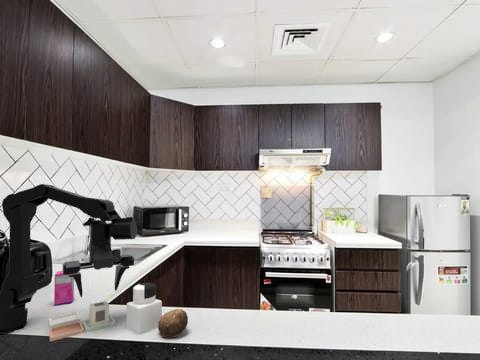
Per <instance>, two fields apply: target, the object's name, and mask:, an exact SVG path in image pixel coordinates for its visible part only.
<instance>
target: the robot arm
mask: <svg viewBox="0 0 480 360" xmlns="http://www.w3.org/2000/svg"><path fill="white" fill-rule="evenodd" d="M48 200H52V201H54V202H56V203H61V204H64V205H66V206H69V207H73V208H76V209H78V210H80V211H81V212H82V213H83V214H85V215H87V216H88V217H89V218H88V219H87V220H86V221H85V222H84V223H82V226H83V227H90V229H89V233H90V234H89V256H88V258H89V261H86V262H80V261H79V260H72V261H71V260H70V261H64V263H63V264H62V270H61V271H62V272H63V275H68V276H69V277H73V278H74V283H76V288H77V290H78V294H79V296H80V298H83V284H82V273H81V272H80V271H81V270H87V269H94V270H101V269H112V268H113V267H114V266H115V274H114V275H115V276H114V291H117V290H118V289H119V285H120V282H121V280H122V277H123V275H124V273H125V272H126V271H127V270H129V269H130V268H131V266H135V257H134V256H133V255H130V254H121V252H122V251H121V249H120V248H116V249H112V239H113V240H116V241H119V240H135V239H136V238H137V234H138V226H137V222H136V221H135V220H136V219H135V216H127V217H121V216H120V215H119V213H118V212H117V210H116V209H115V205H114V202H113V201H112V200H109V199H102V198H93V197H88V196H84V195H81V194H78V193H75V192H71V191H68V190H65V189H63V188H59V187H56V186H54V185H51V184H44V183H40V184H38V185H35V186H33V187H31V188H28V189H24V190H21V191H18V192H16V193H10V194H8V195H6V196H5V198H3V199H2V202H1V206H2V212H3V216H4V217H5V219H6V220H7V221H8V223H9V241H8V242H9V243H8V245H9V246H8V247H9V250H8V252H9V255H8V256H9V257H8V258H9V259H8V273H7V275H6V277H5V279H3V282H2V285H1V289H0V335H4V334H8V333H12V332H15V331H17V330H18V331H20V330H22V329H25V326H26V325H28V314H29V312H28V311H29V309H28V307H26V304H28V303H30V302H31V301H32V299H33V296H34V295H35V294H36V293H37V290H38V288H39V287H40V284H39V279H40V275H39V273H34V272H33V271H32V270H31V222H32V221H33V219H34V218H35V215H36V214H37V210H38V207H40V206H41V205H43V204H45V203H46V202H47V201H48ZM109 222H110V223H109Z"/></svg>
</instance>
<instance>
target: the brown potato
mask: <svg viewBox="0 0 480 360" xmlns="http://www.w3.org/2000/svg"><path fill="white" fill-rule="evenodd" d="M188 321H189V317H188V314H187V312H186V311H185V310H184V309H182V308H176V309H172V310H170V311H167V312H165V313H164V314H162V317H161V318H160V320H159V323H158V327H157V328H158V332H159V334H160V335H161V336H162V337H164V338H167V339H168V338H169V339H173V338H176V337H178V336H180V335H181V334H183V333H184V331H185V330H186V328H187V326H188V323H189V322H188Z"/></svg>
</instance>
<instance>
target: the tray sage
mask: <svg viewBox="0 0 480 360" xmlns="http://www.w3.org/2000/svg"><path fill="white" fill-rule="evenodd" d="M81 322H82V325H83V328H84V333H88V332H92V331H96V330H100V329H104V328H108V327H112V326H115V325H116V320H115V319H114V317H113V316H112V314H111V313H109V323H105V324H101V325H97V326H93V327H90V325H89V318H88V319H84V320H82V321H81Z"/></svg>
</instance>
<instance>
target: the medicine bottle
mask: <svg viewBox="0 0 480 360" xmlns="http://www.w3.org/2000/svg"><path fill="white" fill-rule="evenodd" d="M132 300H133V301H129V302H127V303H126V321H125V323H126V326H125V327H126V329H127V330H129V331H132V332H133V333H135V334H137V335H142V334H144V333H147V332H150V331H151V330H153V329H154V330H155V329H156V328H158V323H159V320H160V318H161V317H162V316H163V308H162V307H163V301H162V299H161V300H160V299H157V298H156V284H155V283H154V282H153V283H152V282H142V283H137V285H134V287H133V288H132Z"/></svg>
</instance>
